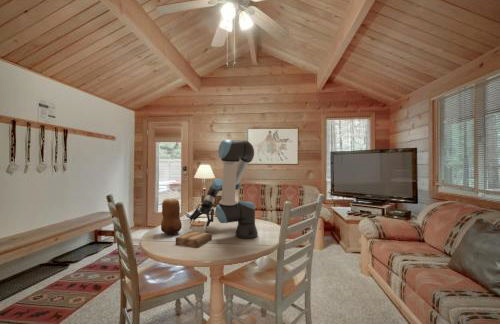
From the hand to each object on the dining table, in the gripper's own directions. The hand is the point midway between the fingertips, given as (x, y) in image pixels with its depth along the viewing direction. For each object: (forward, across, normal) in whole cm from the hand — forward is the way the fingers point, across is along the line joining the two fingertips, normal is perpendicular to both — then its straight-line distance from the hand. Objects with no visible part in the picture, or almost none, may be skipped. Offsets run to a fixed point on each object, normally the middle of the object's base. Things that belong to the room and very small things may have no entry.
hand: (197, 229), depth 177 cm
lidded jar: (+1, 0, -5) cm, 5 cm away
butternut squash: (+6, +18, 0) cm, 19 cm away
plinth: (+12, -6, +6) cm, 15 cm away
